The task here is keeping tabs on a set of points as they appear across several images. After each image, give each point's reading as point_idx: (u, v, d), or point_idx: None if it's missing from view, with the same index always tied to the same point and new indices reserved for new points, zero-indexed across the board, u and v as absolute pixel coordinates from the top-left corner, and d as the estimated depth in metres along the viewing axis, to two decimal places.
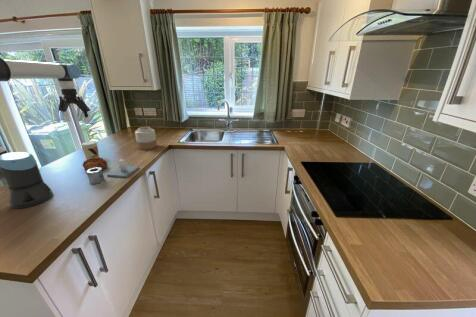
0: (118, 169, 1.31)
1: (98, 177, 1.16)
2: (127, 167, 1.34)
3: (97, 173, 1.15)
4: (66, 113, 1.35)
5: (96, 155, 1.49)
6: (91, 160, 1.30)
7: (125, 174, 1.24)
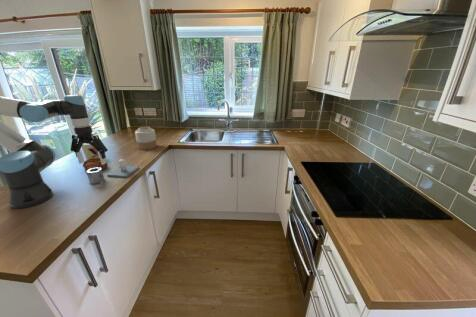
0: (118, 169, 1.31)
1: (98, 177, 1.16)
2: (127, 167, 1.34)
3: (97, 173, 1.15)
4: (79, 153, 1.13)
5: (96, 155, 1.49)
6: (91, 160, 1.30)
7: (125, 174, 1.24)
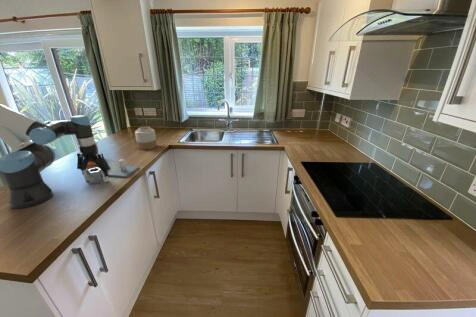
0: (118, 169, 1.31)
1: (98, 177, 1.16)
2: (127, 167, 1.34)
3: (97, 173, 1.15)
4: (86, 171, 1.17)
5: None
6: None
7: (125, 174, 1.24)
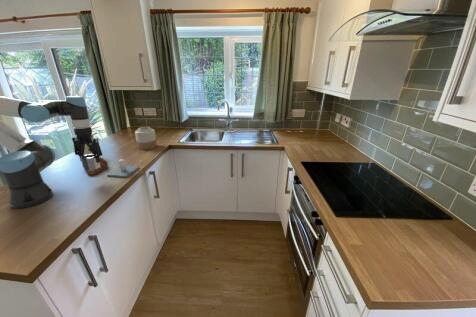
0: (118, 169, 1.31)
1: (93, 163, 1.12)
2: (127, 167, 1.34)
3: (92, 159, 1.11)
4: None
5: None
6: None
7: (125, 174, 1.24)
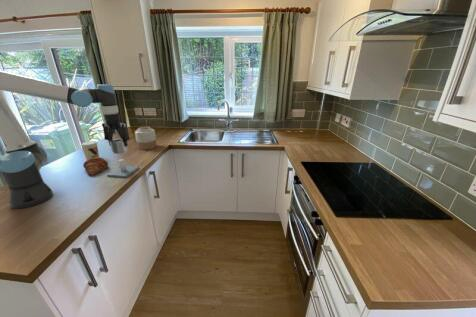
0: (118, 169, 1.31)
1: (121, 147, 1.22)
2: (127, 167, 1.34)
3: (121, 143, 1.21)
4: None
5: (96, 155, 1.49)
6: (92, 160, 1.30)
7: (125, 174, 1.24)
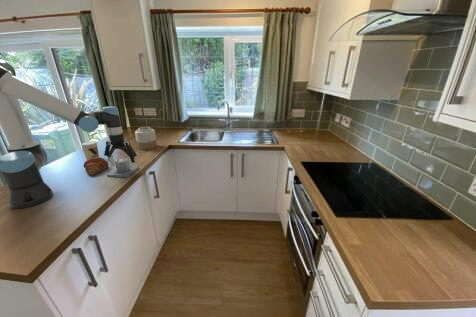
0: None
1: (125, 167, 1.26)
2: None
3: (124, 163, 1.25)
4: (111, 158, 1.27)
5: (96, 155, 1.49)
6: (92, 160, 1.30)
7: (125, 174, 1.24)
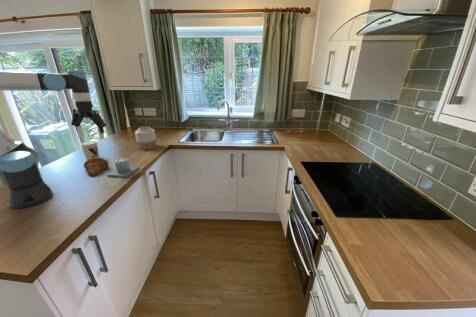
0: None
1: (125, 167, 1.26)
2: None
3: (124, 163, 1.25)
4: (79, 128, 1.19)
5: (96, 155, 1.49)
6: (92, 160, 1.30)
7: (125, 174, 1.24)
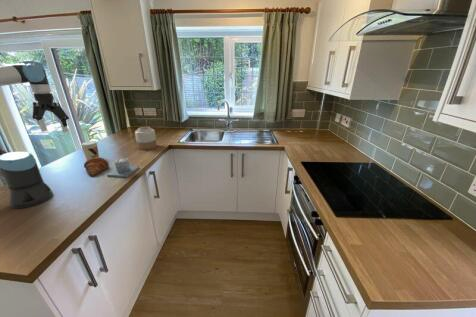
0: None
1: (125, 167, 1.26)
2: None
3: (124, 163, 1.25)
4: (42, 122, 1.16)
5: (96, 155, 1.49)
6: (92, 161, 1.30)
7: (125, 174, 1.24)
